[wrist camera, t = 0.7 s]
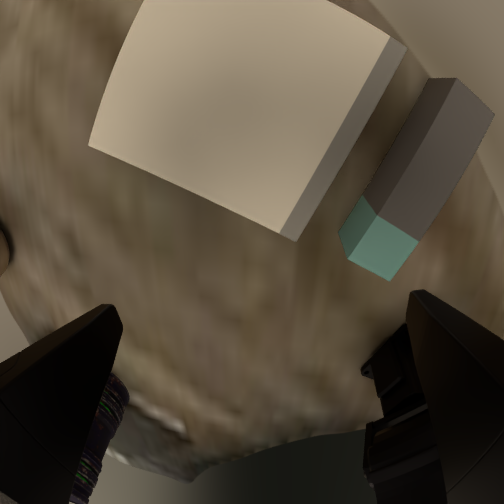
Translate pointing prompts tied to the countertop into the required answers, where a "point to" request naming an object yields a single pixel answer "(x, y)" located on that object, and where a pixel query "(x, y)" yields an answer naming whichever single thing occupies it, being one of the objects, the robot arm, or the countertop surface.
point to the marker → (415, 176)
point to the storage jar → (99, 438)
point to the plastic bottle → (3, 253)
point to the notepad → (245, 100)
